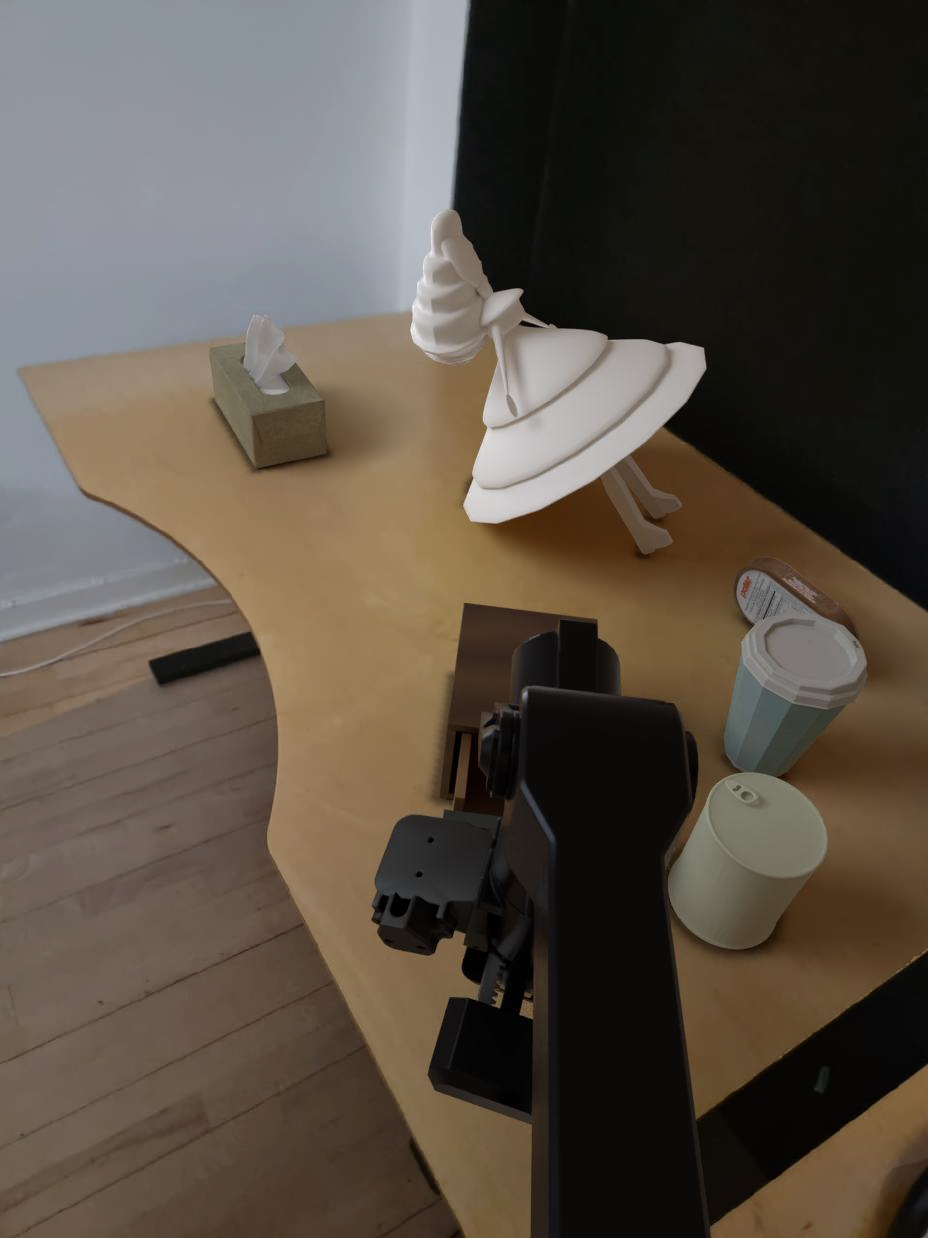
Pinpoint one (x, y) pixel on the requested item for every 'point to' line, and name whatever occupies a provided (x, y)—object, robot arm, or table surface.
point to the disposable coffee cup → (790, 689)
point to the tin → (784, 594)
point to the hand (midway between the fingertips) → (513, 967)
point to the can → (746, 859)
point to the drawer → (473, 790)
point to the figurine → (550, 394)
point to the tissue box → (268, 397)
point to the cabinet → (486, 670)
